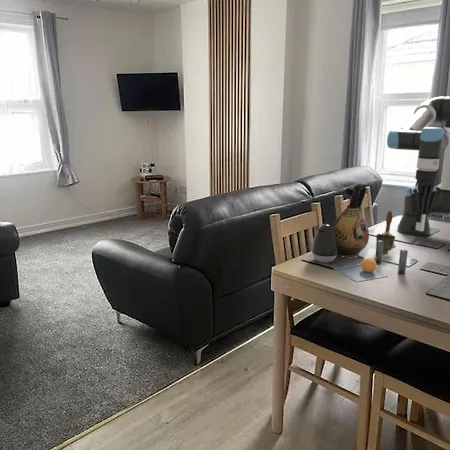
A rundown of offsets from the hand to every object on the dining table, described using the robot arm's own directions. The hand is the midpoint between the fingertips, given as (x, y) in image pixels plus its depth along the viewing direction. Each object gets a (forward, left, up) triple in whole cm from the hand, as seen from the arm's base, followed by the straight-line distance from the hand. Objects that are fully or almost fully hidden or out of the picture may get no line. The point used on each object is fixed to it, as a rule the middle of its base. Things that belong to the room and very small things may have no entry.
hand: (419, 230), depth 173 cm
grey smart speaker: (+32, -16, -14) cm, 38 cm away
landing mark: (+27, 0, -14) cm, 30 cm away
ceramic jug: (+17, -20, -14) cm, 29 cm away
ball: (+24, +1, -11) cm, 26 cm away
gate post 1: (+13, -6, -14) cm, 20 cm away
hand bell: (-6, -24, -14) cm, 28 cm away
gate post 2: (+13, +6, -14) cm, 20 cm away
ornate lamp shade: (+3, -14, -14) cm, 20 cm away
